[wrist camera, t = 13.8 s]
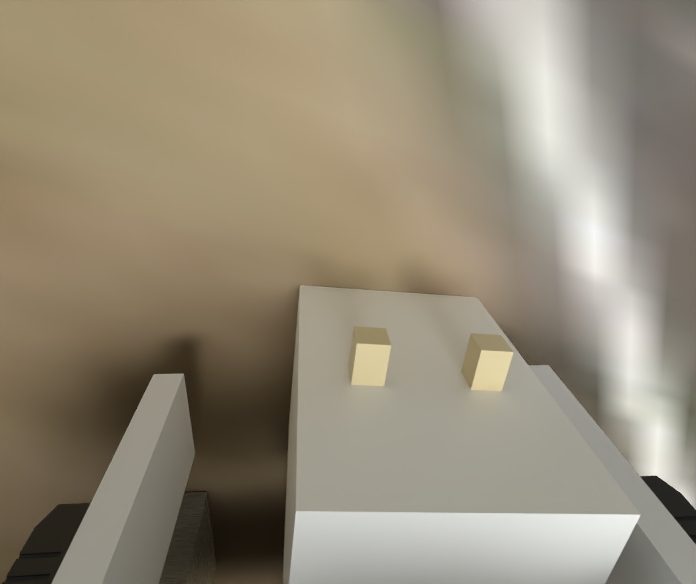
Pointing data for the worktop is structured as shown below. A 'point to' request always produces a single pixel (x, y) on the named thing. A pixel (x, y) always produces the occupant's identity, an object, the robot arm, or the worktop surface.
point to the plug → (435, 453)
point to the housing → (191, 544)
